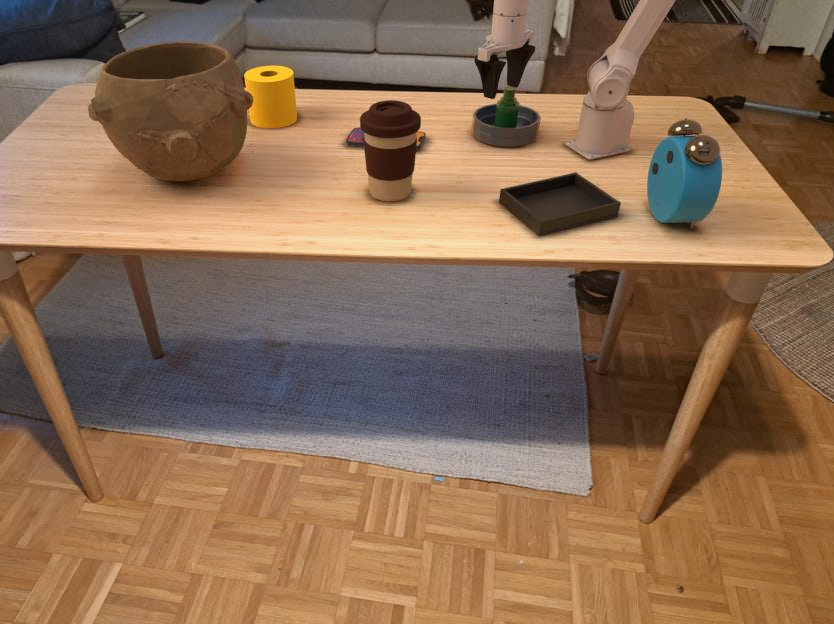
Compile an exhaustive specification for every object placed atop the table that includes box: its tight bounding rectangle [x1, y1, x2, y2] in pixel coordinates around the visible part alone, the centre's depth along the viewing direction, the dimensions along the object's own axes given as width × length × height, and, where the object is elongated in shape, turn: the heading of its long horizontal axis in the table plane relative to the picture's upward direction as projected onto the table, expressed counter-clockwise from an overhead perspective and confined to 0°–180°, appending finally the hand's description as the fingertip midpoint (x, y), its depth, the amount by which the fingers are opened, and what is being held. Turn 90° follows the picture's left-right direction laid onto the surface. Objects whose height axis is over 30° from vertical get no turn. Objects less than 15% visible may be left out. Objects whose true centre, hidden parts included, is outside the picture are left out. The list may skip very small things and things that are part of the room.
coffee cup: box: [359, 99, 422, 202], centre depth 114 cm, size 10×10×15 cm
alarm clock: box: [646, 117, 723, 229], centre depth 106 cm, size 13×6×15 cm, turn 2°
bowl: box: [87, 40, 253, 182], centre depth 121 cm, size 27×29×20 cm
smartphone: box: [345, 126, 427, 152], centre depth 135 cm, size 7×15×1 cm, turn 75°
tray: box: [498, 171, 622, 237], centre depth 113 cm, size 15×12×2 cm
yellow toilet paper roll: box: [243, 65, 298, 129], centre depth 142 cm, size 10×10×9 cm
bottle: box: [494, 86, 521, 128], centre depth 134 cm, size 4×4×9 cm
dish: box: [471, 103, 542, 148], centre depth 136 cm, size 13×13×4 cm
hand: (501, 91), depth 127 cm, fingers open, 7 cm apart
